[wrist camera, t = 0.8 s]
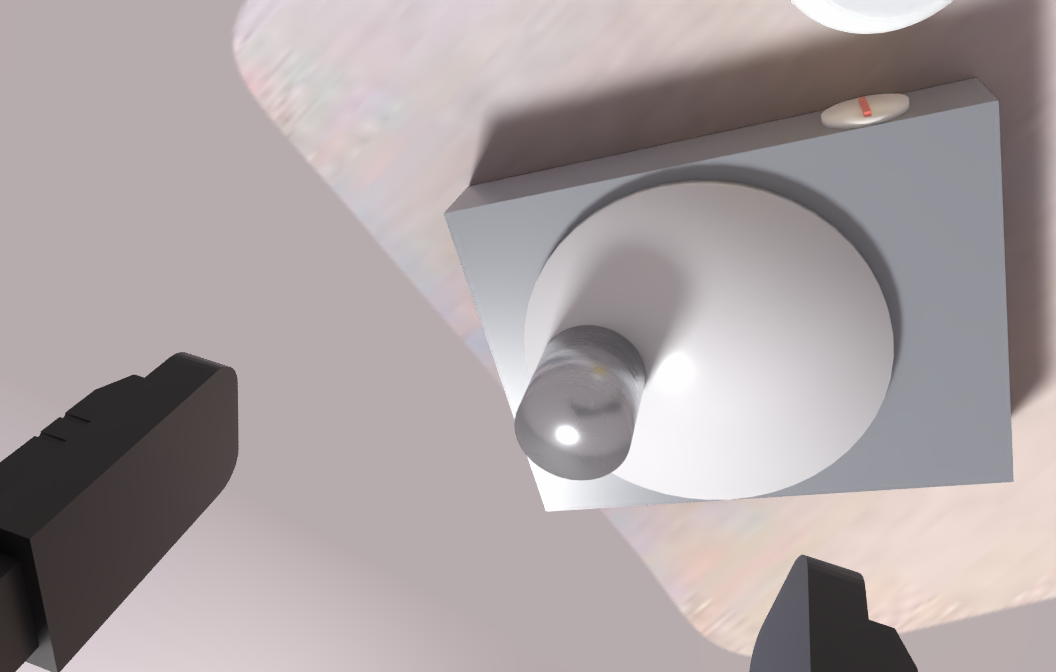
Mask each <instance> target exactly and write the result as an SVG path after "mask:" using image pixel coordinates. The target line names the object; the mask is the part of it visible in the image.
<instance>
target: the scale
mask: <svg viewBox="0 0 1056 672" xmlns="http://www.w3.org/2000/svg"><path fill="white" fill-rule="evenodd" d="M444 216H445V219H446V221H447V224H448V227H449V230H450V233H451V236H452V239H453V242H454V245H455V248H456V251H457V253H458V256H459V259H460V262H461V265H462V268H463V271H464V274H465V277H466V280H467V283H468V285H469V288H470V291H471V294H472V297H473V300H474V303H475V306H476V309H477V312H478V315H479V318H480V320H481V323H482V326H483V329H484V332H485V335H486V338H487V341H488V344H489V347H490V350H491V352H492V355H493V358H494V361H495V364H496V367H497V370H498V373H499V376H500V379H501V382H502V384H503V387H504V390H505V393H506V396H507V399H508V402H509V405H510V407H511V410H512V414H513V416H514V419H515V416H516V412H517V410H518V407H519V405H520V403H521V401H522V398H523V396H524V394H525V392H526V389H527V387H528V385H529V383H530V381H531V378H532V376H533V374H534V372H535V369H536V367H537V365H538V363H539V361H540V358H541V356H542V354H543V352H544V349H545V348H546V346H547V344H548V343H549V342H550V340H551V339H552V338H553V337H555V336H556V335H557V334H559V333H560V332H562V331H564V330H566V329H568V328H571V327H575V326H580V325H595V326H601V327H605V328H608V329H610V330H613V331H615V332H617V333H619V334H621V335H622V336H623V337H625V338H626V339H627V340H629V341H630V342H631V343H632V344H633V345H634V347H635V348H636V349H637V351H638V352H639V354H640V356H641V358H642V360H643V363H644V366H645V373H646V378H645V385H644V389H643V394H642V398H641V402H640V407H639V411H638V416H637V420H636V424H635V429H634V433H633V438H632V442H631V446H630V450H629V453H628V455H627V457H626V459H625V460H624V462H623V463H622V464H621V465H620V466H619V467H618V468H617V469H616V470H615V471H613V472H612V473H610V474H608V475H606V476H603V477H601V478H597V479H593V480H570V479H565V478H561V477H558V476H555V475H553V474H550V473H549V472H547V471H545V470H543V469H542V468H540V467H539V466H537V465H536V464H535V463H534V462H532V461H531V460H530V459H529V457H528V456H527V457H528V460H529V463H530V466H531V469H532V472H533V474H534V478H535V481H536V483H537V486H538V489H539V492H540V495H541V498H542V501H543V504H544V507H545V510H546V511H562V510H578V509H594V508H609V507H625V506H641V505H656V504H672V503H688V502H703V501H719V500H735V499H750V498H766V497H782V496H797V495H813V494H829V493H844V492H860V491H876V490H891V489H907V488H923V487H938V486H954V485H970V484H985V483H1001V482H1013V456H1012V430H1011V404H1010V378H1009V352H1008V326H1007V300H1006V274H1005V248H1004V222H1003V196H1002V170H1001V144H1000V118H999V100H998V99H997V98H996V97H995V96H994V95H993V94H992V93H991V92H990V91H989V90H988V89H987V88H986V87H985V86H984V85H983V84H982V83H981V82H980V81H979V80H978V79H977V78H972V79H967V80H962V81H958V82H953V83H948V84H944V85H939V86H934V87H930V88H925V89H920V90H916V91H911V92H906V93H902V94H892V93H891V94H876V95H869V96H864V97H859V98H855V99H851V100H847V101H844V102H841V103H838V104H836V105H834V106H831V107H829V108H828V109H826V110H822V111H818V112H813V113H808V114H804V115H799V116H794V117H790V118H785V119H780V120H776V121H771V122H766V123H762V124H757V125H752V126H748V127H743V128H738V129H734V130H729V131H724V132H720V133H715V134H710V135H706V136H701V137H696V138H692V139H687V140H682V141H678V142H673V143H668V144H664V145H659V146H654V147H650V148H645V149H640V150H636V151H631V152H626V153H622V154H617V155H612V156H608V157H603V158H598V159H594V160H589V161H584V162H580V163H575V164H570V165H566V166H561V167H556V168H552V169H547V170H542V171H538V172H533V173H528V174H524V175H519V176H514V177H510V178H505V179H500V180H496V181H491V182H486V183H482V184H477V185H472V186H468V187H467V188H466V190H465V191H464V192H463V193H462V194H461V195H460V196H459V197H458V198H457V199H456V201H455V202H454V203H453V204H452V205H451V206H450V207H449V208H448V209H447V210H446V212H445V213H444Z"/></svg>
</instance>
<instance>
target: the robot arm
mask: <svg viewBox="0 0 1056 672" xmlns="http://www.w3.org/2000/svg"><path fill="white" fill-rule="evenodd" d="M237 384H238V382H237V375H236V373H235V370H234V369H233V368H231V367H228V366H225V365H222V364H219V363H216V362H213V361H210V360H207V359H204V358H200V357H197V356H194V355H191V354H188V353H185V352H180V353H176V354H174V355H173V356H171V357H170V358H169V359H167V360H166V361H165V362H164V363H162V364H161V365H160V366H159V367H157V368H156V369H155V370H154V371H152V372H151V373H150V374H149V375H148V376H146V377H145V378H143V377H140V376H137V375H131V376H129V377H127V378H124V379H121V380H119V381H117V382H114V383H111V384H109V385H106V386H104V387H101V388H99V389H96V390H94V391H93V392H92V393H90V394H89V395H88V396H87V397H85V398H84V399H83V400H81V401H80V402H79V403H77V404H76V405H75V406H73V407H72V408H71V409H69V410H68V411H67V412H66V414H65V416H64V418H61V417H59V418H58V419H57V420H55V421H54V422H53V423H51V424H50V425H49V426H48V427H46V428H45V429H43V430H42V431H41V434H40V436H39V437H36V436H34V437H33V438H32V439H30V440H29V441H28V442H26V443H25V444H24V445H22V446H21V447H20V448H18V449H17V450H16V451H15V452H13V453H12V454H11V455H9V456H8V457H7V458H6V459H4V460H3V461H2V462H0V672H15V671H16V670H17V669H18V668H19V667H20V666H21V665H22V664H23V663H24V662H25V661H26V662H28V663H31V664H33V665H36V666H39V667H41V668H44V669H46V670H49V671H51V672H60V671H61V670H62V669H63V668H64V667H65V665H66V664H67V663H68V662H69V661H70V660H71V659H72V657H74V655H75V654H76V653H77V652H78V651H79V650H80V649H81V648H82V647H83V645H84V644H85V643H86V642H87V641H88V640H89V639H90V638H91V637H92V635H93V634H94V633H95V632H96V631H97V630H98V629H99V628H100V627H101V625H102V624H103V623H104V622H105V621H106V620H107V619H108V618H109V616H110V615H111V614H112V613H113V612H114V611H115V610H116V609H117V608H118V606H119V605H120V604H121V603H122V602H123V601H124V600H125V599H126V598H127V596H128V595H129V594H130V593H131V592H132V591H133V590H134V589H135V588H136V586H137V585H138V584H139V583H140V582H141V581H142V580H143V579H144V578H145V576H146V575H147V574H148V573H149V572H150V571H151V570H152V568H153V567H154V566H155V565H156V564H157V563H158V562H159V560H161V559H162V557H163V556H164V555H165V554H166V553H167V552H168V551H169V550H170V548H171V547H172V546H173V545H174V544H175V543H176V542H177V541H178V540H179V538H180V537H181V536H182V535H183V534H184V533H185V532H186V531H187V530H188V528H189V527H190V526H191V525H192V524H193V523H194V522H195V520H196V519H197V518H198V517H199V516H200V515H201V514H202V513H203V512H204V511H205V509H206V508H207V507H208V506H209V505H210V504H211V503H212V502H213V501H214V499H215V498H216V497H217V496H218V495H219V494H220V493H221V491H222V490H223V489H224V487H225V486H226V484H227V482H228V481H229V479H230V477H231V475H232V473H233V470H234V468H235V465H236V461H237V457H238V389H237V388H238V385H237ZM750 672H918V670H917V667H916V666H915V664H914V662H913V660H912V658H911V656H910V655H909V653H908V651H907V649H906V648H905V646H904V644H903V642H902V641H901V639H900V637H899V635H898V633H897V632H896V630H895V628H892V627H889V626H886V625H883V624H880V623H877V622H874V621H871V620H869V618H868V609H867V600H866V590H865V583H864V579H863V576H862V575H861V574H860V573H858V572H855V571H852V570H849V569H846V568H842V567H839V566H836V565H833V564H830V563H827V562H824V561H821V560H818V559H815V558H812V557H809V556H805V555H801V556H799V557H798V558H797V560H796V561H795V563H794V565H793V566H792V568H791V570H790V572H789V574H788V576H787V578H786V580H785V582H784V584H783V586H782V588H781V590H780V592H779V594H778V596H777V598H776V600H775V602H774V604H773V606H772V608H771V610H770V612H769V613H768V615H767V617H766V619H765V621H764V623H763V625H762V627H761V629H760V632H759V634H758V637H757V640H756V643H755V647H754V650H753V654H752V659H751V665H750Z"/></svg>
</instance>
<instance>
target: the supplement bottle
mask: <svg viewBox="0 0 1056 672" xmlns="http://www.w3.org/2000/svg"><path fill="white" fill-rule="evenodd" d="M952 1H954V0H791V2H792V3H793V4H794V5H795V6H796V7H797V8H798V9H799V10H800V11H802V12H803V13H804V14H805V15H807V16H808V17H810V18H811V19H813V20H814V21H816V22H818V23H820V24H822V25H824V26H827V27H830V28H832V29H835V30H839V31H844V32H849V33H858V34H874V33H884V32H889V31H894V30H898V29H901V28H905V27H908V26H911V25H913V24H915V23H918V22H920V21H922V20H924V19H926V18H928V17H930V16H932V15H934V14H935V13H937V12H938V11H940V10H941V9H943V8H944V7H946V6H947V5H948V4H950V3H951V2H952Z"/></svg>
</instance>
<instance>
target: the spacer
mask: <svg viewBox="0 0 1056 672" xmlns="http://www.w3.org/2000/svg"><path fill="white" fill-rule="evenodd" d="M645 378H646V373H645V366H644V363H643V360H642V358H641V356H640V354H639V352H638V351H637V349H636V348H635V347H634V345H633V344H632V343H631V342H630V341H629V340H627V339H626V338H625V337H623V336H622V335H621V334H619V333H617V332H615V331H613V330H610V329H608V328H605V327H601V326H595V325H580V326H575V327H571V328H568V329H566V330H564V331H562V332H560V333H559V334H557V335H556V336H555V337H553V338H552V339H551V340H550V342H549V343H548V344H547V346H546V348H545V349H544V352H543V354H542V356H541V358H540V361H539V363H538V365H537V367H536V369H535V372H534V374H533V376H532V378H531V381H530V383H529V385H528V387H527V389H526V392H525V394H524V396H523V398H522V401H521V403H520V405H519V407H518V410H517V412H516V416H515V433H516V437H517V440H518V442H519V445H520V446H521V448H522V450H523V451H524V452H525V454H526V455H527V456H528V457H529V459H530V460H531V461H532V462H534V463H535V464H536V465H537V466H539V467H540V468H542V469H543V470H545V471H547V472H549V473H550V474H553V475H555V476H558V477H561V478H565V479H570V480H593V479H597V478H601V477H603V476H606V475H608V474H610V473H612V472H613V471H615V470H616V469H617V468H618V467H619V466H620V465H621V464H622V463H623V462H624V460H625V459H626V457H627V455H628V453H629V450H630V446H631V442H632V438H633V433H634V429H635V424H636V420H637V416H638V411H639V407H640V402H641V398H642V394H643V389H644V385H645Z"/></svg>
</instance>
